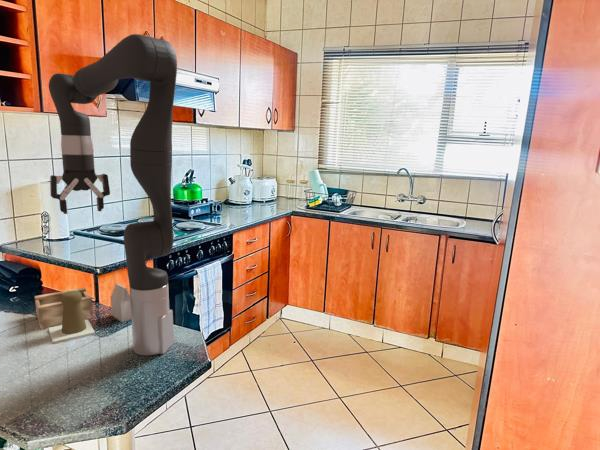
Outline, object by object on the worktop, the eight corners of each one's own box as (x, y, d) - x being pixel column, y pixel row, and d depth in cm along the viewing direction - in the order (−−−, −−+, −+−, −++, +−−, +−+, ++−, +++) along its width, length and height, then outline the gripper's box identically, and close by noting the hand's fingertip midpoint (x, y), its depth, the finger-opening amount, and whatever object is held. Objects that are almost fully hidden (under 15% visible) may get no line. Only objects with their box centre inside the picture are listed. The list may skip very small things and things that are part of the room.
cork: (76, 335, 111) (72, 296, 109) (56, 333, 112) (52, 295, 110) (91, 325, 117) (88, 289, 115) (72, 323, 118) (68, 287, 116)
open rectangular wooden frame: (86, 305, 132) (84, 287, 131) (93, 317, 124) (91, 297, 122) (36, 315, 124) (34, 296, 123) (40, 328, 116) (38, 308, 114)
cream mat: (87, 321, 121) (87, 319, 121) (95, 333, 113) (94, 331, 113) (48, 329, 115) (48, 327, 115) (53, 343, 107) (53, 341, 107)
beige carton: (121, 322, 121) (119, 290, 119) (111, 315, 125) (109, 284, 124) (133, 318, 124) (132, 287, 122) (123, 312, 128) (121, 281, 126)
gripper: (103, 152, 117) (107, 208, 120) (45, 152, 109) (51, 212, 112) (109, 153, 111) (113, 212, 114) (48, 153, 103) (54, 216, 106)
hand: (82, 212), depth 113 cm, fingers open, 8 cm apart
